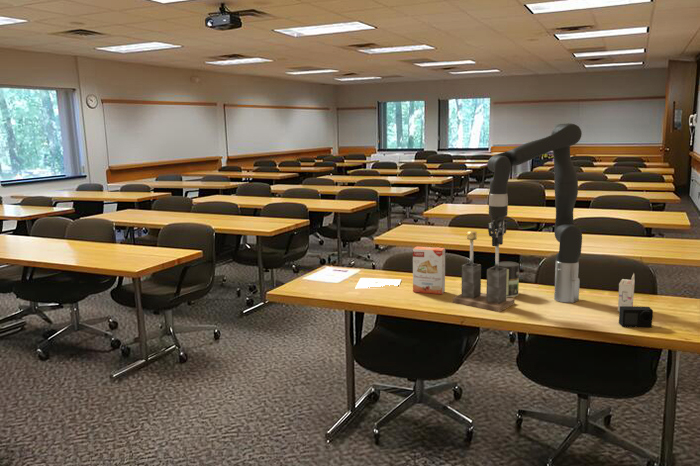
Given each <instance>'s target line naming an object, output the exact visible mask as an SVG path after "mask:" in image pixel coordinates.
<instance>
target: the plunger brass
mask: <svg viewBox="0 0 700 466" xmlns="http://www.w3.org/2000/svg"><path fill="white" fill-rule="evenodd" d="M477 233H478V232H477V231H473V230H471V231H470V230H469V231H467V232H466V240H469V263H470V266H471V267H473V263H474V241H475V240H477V238H478V237H477V235H478V234H477Z"/></svg>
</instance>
